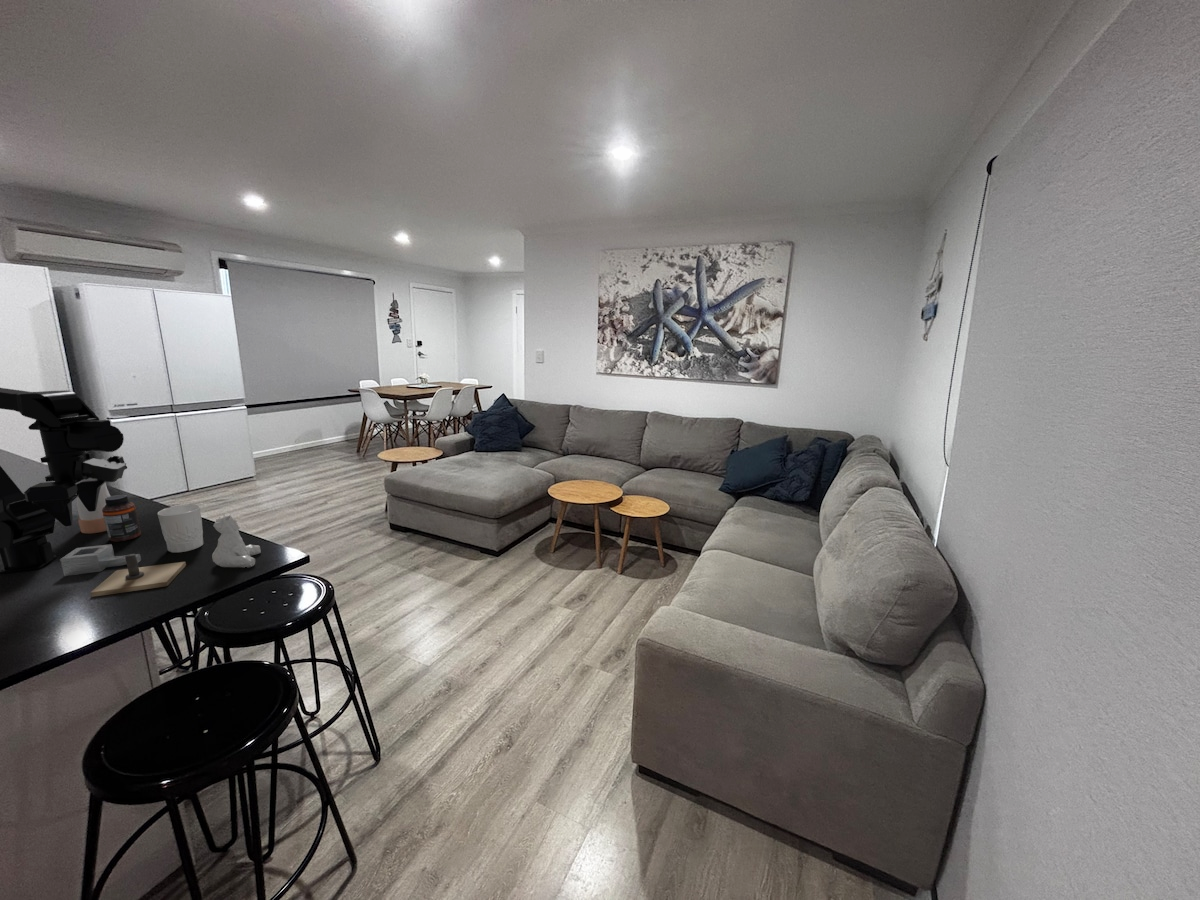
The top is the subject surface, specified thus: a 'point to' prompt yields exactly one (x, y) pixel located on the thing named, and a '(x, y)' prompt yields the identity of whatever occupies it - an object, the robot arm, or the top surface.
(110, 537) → the supplement bottle
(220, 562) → the sitting furry creature
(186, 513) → the white cup
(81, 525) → the pepper shaker
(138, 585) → the board
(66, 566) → the white handled block
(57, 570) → the top surface
